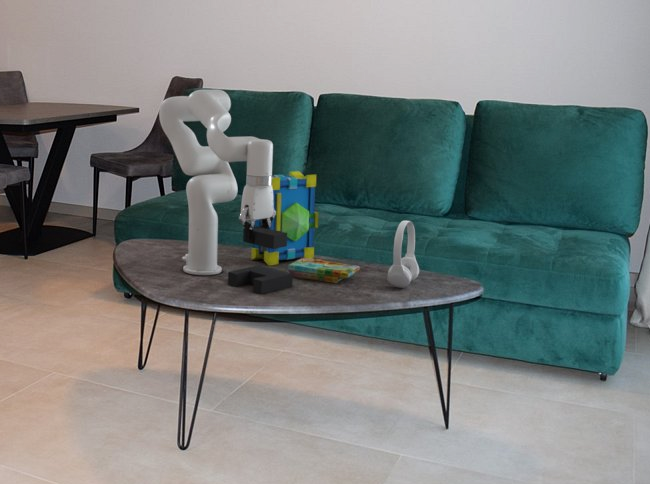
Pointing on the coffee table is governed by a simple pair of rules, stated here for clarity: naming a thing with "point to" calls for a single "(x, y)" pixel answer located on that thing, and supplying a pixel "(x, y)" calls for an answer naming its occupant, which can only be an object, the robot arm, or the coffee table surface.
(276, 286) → the notch pad
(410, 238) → the headphones
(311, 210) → the blue tall framed box
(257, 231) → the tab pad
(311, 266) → the puzzle game
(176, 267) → the coffee table surface
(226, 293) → the coffee table surface
